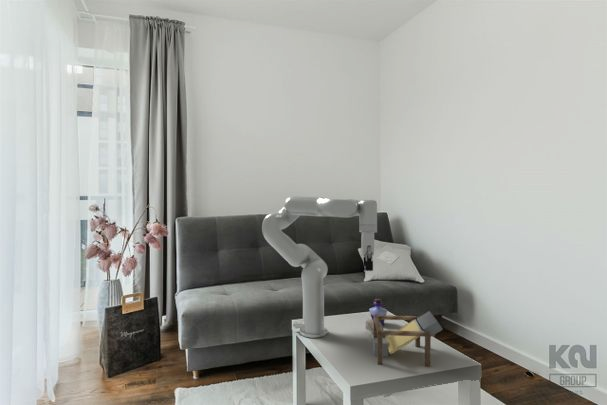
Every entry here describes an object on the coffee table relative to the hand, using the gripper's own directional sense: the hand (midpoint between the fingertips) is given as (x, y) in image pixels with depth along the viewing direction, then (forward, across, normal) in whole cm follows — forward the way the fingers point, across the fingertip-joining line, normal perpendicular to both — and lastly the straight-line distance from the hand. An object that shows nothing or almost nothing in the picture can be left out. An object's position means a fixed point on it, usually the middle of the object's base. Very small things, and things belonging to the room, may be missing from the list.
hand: (368, 268), depth 156 cm
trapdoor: (+24, +15, +17) cm, 33 cm away
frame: (+30, +15, +11) cm, 36 cm away
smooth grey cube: (+28, +15, +6) cm, 32 cm away
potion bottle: (+31, -18, +6) cm, 36 cm away
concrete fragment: (+31, -7, +4) cm, 32 cm away
